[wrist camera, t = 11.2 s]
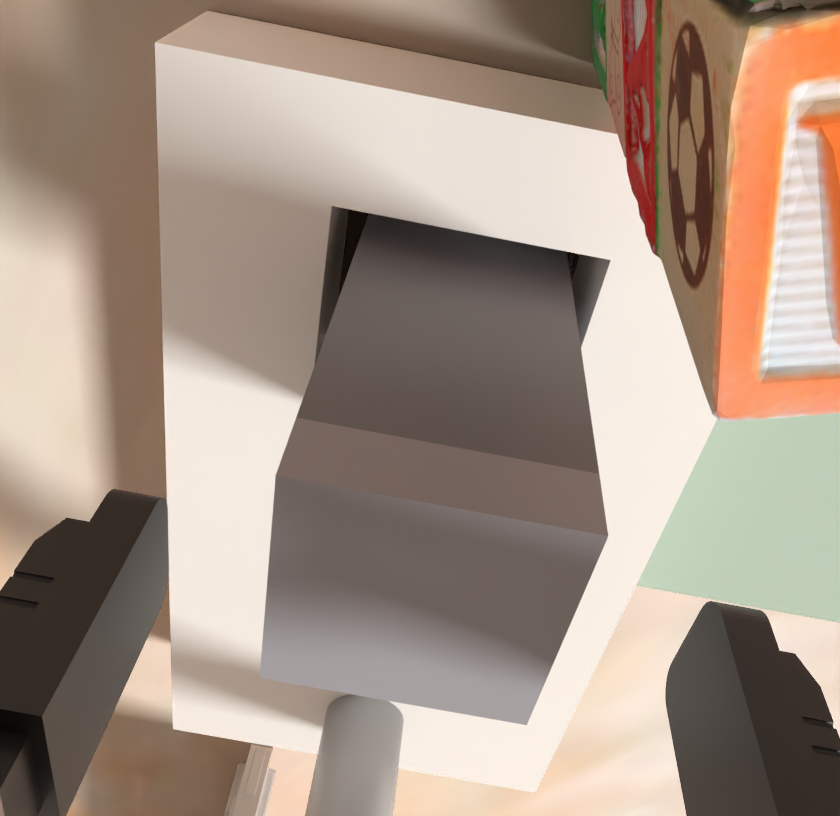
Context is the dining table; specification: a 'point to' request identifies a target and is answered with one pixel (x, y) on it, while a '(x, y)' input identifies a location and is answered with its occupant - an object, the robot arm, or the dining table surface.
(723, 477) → the mat
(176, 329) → the socket block
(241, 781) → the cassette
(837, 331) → the stack of blocks
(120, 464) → the dining table surface
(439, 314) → the plug
